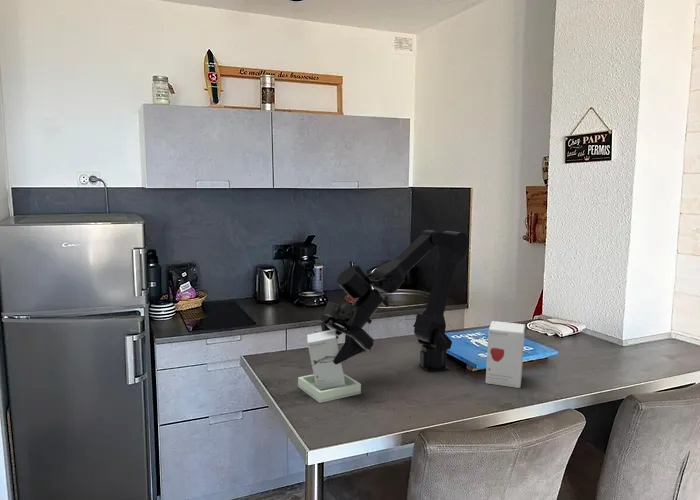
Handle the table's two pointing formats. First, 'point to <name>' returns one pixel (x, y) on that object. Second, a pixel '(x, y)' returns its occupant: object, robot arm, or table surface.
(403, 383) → the table surface
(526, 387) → the table surface
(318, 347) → the supplement box
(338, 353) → the robot arm
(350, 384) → the dock tray
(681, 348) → the table surface
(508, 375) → the supplement box
